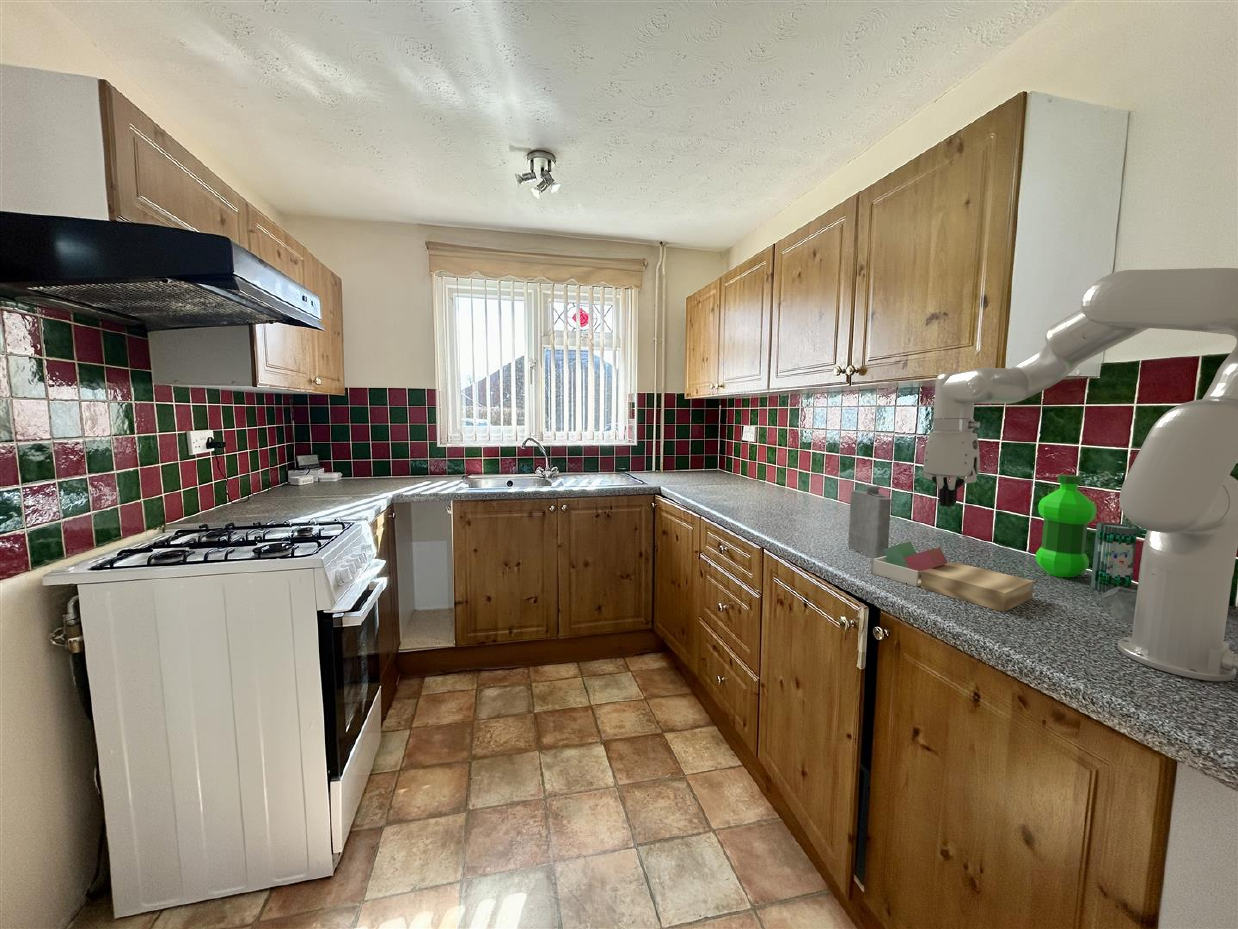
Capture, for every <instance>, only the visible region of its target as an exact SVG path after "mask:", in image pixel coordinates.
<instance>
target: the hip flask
mask: <svg viewBox="0 0 1238 929" xmlns="http://www.w3.org/2000/svg"><path fill="white" fill-rule="evenodd" d="M864 488H865V489H866V490H865V491H863V490H860V489H859V490H855V489H851V490H850V497H849V498H850V500H849V520H848V524H849V525H848V538H847V540H848V542H847V548H848V547H849V548H851V549H854V550H856V551H858V552H862V553H863V554H865V555H867V556H868V557H870V558H872V559H875V558H879V557H883V556H886V554H885V552H884V550H883V549H886V548H889V537H890V524H891V523H890V521H891V507H892V506H891V505H892V498H890V497H888V496H886V495H884V494H881V493H880V489H881V486H880V485H874V484H872V485H871V484H870V485H868V484H867V485H865V487H864ZM856 551H855V552H856ZM858 552H857V553H858ZM863 554H862V555H863ZM865 555H864V556H865ZM867 556H866V557H867ZM868 557H867V558H868ZM870 558H869V559H870ZM872 559H871V560H872Z"/></svg>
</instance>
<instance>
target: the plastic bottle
mask: <svg viewBox="0 0 1238 929" xmlns="http://www.w3.org/2000/svg"><path fill="white" fill-rule="evenodd" d="M1082 479H1083V476H1080V475H1076V474H1075V475H1074V474H1058V475H1057V480H1056V481H1057V483H1058V484H1059V489H1057V490H1055V491H1052V492H1051V493H1049V494H1047V495H1046V496H1043V497H1042V498H1041V499H1040V500H1039V503H1038V505H1037V507H1038V508H1037V509H1038V514H1039V515H1040V516H1041V517H1042V518H1043V526H1042V538H1041V546H1040V547H1039V548H1038V550H1037V551H1036V553H1035V561H1036V563H1037V565H1039V567H1040V568H1042V570H1044V571H1045V573H1046V572H1047V573H1046V574H1048V575H1050V576H1053V577H1057V578H1063V577H1073V578H1075V577H1076V576H1078V575H1081V574H1082V573H1084V572H1085V571H1087V569H1088V568H1089V566H1090V560H1089V558H1088V557H1089V556H1088V555H1087V554H1086V543H1087V532H1088V524H1089V523H1091V522H1093V521H1094V520H1095V518H1096V516H1097V512H1098V511H1097V506H1096V504H1095V503H1094V502H1093V501H1092V500H1091V499H1090V498H1089V497H1087V496H1086V495H1085V494H1084V493H1082V492H1080V491H1079V490H1078V487H1079V485H1082Z"/></svg>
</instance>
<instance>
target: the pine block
mask: <svg viewBox="0 0 1238 929" xmlns="http://www.w3.org/2000/svg"><path fill="white" fill-rule="evenodd" d="M1034 582H1035V581H1034V580H1032V579H1028V578H1023V577H1019V576H1015V575H1010V574H1005V573H1002V572H999V571H993V570H990V569H985V568H982V567H981V568H980V567H975V566H972V565H968V564H964V563H959V562H955V561H950V562H948V563H947V564H944V565H940V566H937V567H934V568H930V569H927V570H924V571H922V577H921V585H920V589H924V590H927V591H930V592H934V593H937V594H940V595H944V596H947V597H951V598H953V599H957V600H961V601H965V602H967V601H968V603H972V604H975V605H976V606H977V605H978V606H981V607H985V608H989V609H992V610H995V611H999V612H1002V613H1005V612H1008V611H1009V610H1011V609H1013V608H1015V607H1017V606H1019V605H1021V604H1023V603H1027V601H1030V600H1032V599H1033V593H1034V591H1033V590H1034V584H1035V583H1034Z"/></svg>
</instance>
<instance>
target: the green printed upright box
mask: <svg viewBox="0 0 1238 929" xmlns="http://www.w3.org/2000/svg"><path fill="white" fill-rule="evenodd" d="M1138 528H1139V527H1138V526H1137V527H1136V526H1134V525H1129V524H1122V523H1115V522H1097V523H1096V531H1095V539H1094V550H1093V561H1092V568H1091V570H1092V571H1091V580H1090V588H1092V589H1093V588H1094V590H1096V589H1098V590H1101V591H1100V592H1102V591H1104V592H1103V593H1105V592H1107V591H1108V590H1110V589H1113V588H1116V587H1119V586H1121V587H1123V588H1127V589H1131V590H1132V581H1133V573H1134V563H1135V556H1136V555H1135V554H1136V547H1137V537H1138V530H1139V529H1138ZM1098 590H1097V591H1098Z"/></svg>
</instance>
